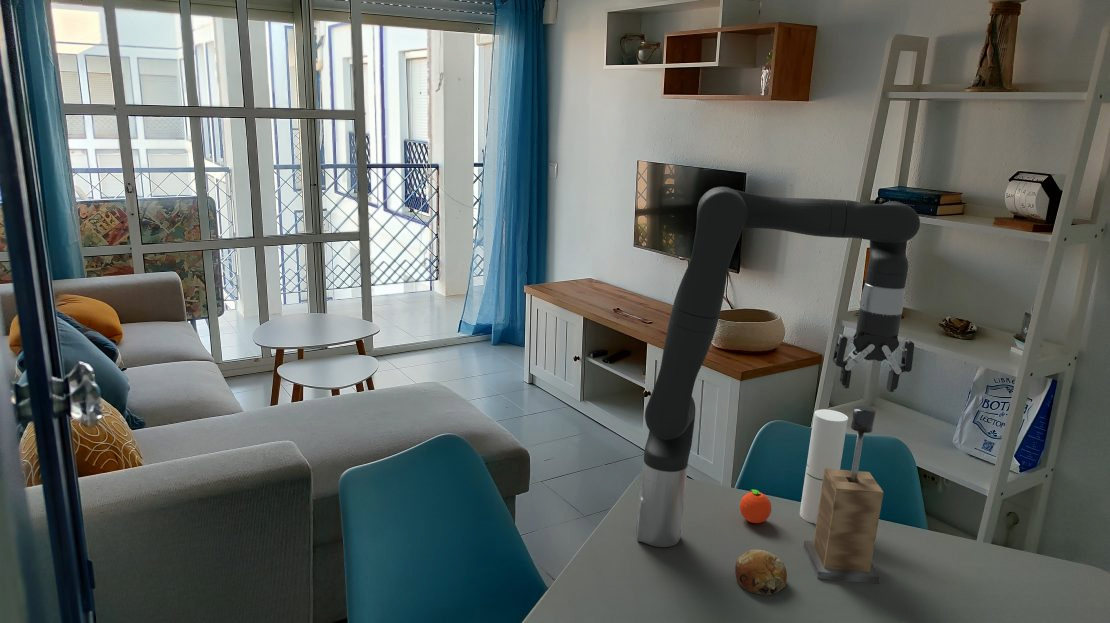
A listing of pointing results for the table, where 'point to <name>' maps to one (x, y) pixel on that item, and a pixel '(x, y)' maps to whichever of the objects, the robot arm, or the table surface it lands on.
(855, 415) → the plunger
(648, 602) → the table surface
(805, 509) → the cylindrical container
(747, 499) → the clementine
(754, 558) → the bread roll
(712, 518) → the table surface
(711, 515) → the table surface
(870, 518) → the box
